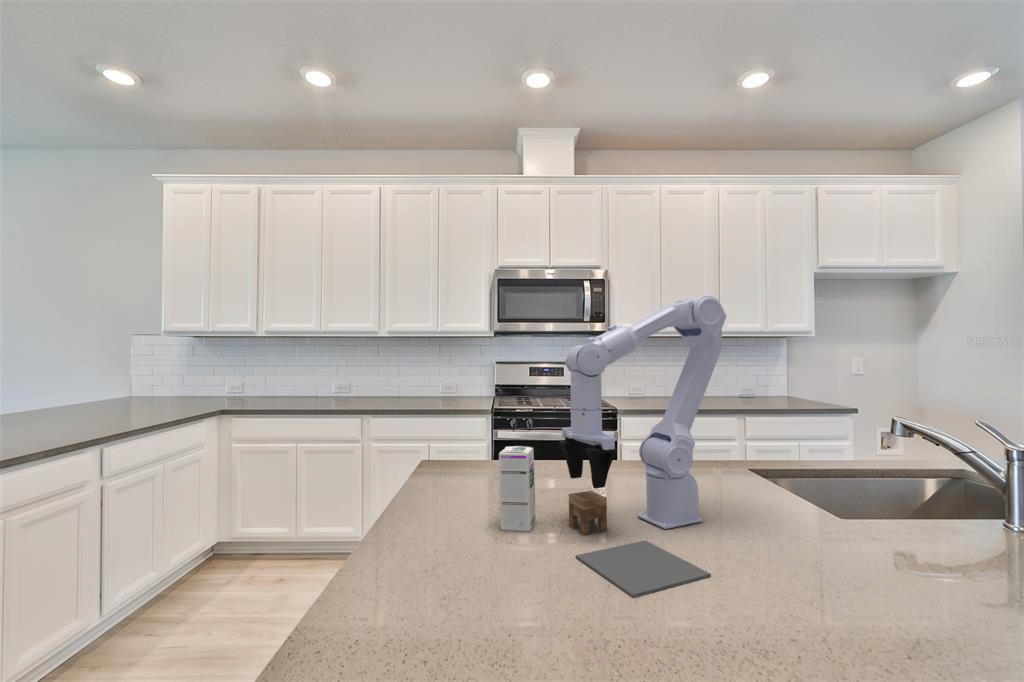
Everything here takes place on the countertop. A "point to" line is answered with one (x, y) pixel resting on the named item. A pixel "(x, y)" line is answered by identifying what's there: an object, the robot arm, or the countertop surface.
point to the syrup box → (517, 488)
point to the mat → (641, 568)
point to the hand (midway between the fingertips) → (587, 482)
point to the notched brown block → (587, 511)
